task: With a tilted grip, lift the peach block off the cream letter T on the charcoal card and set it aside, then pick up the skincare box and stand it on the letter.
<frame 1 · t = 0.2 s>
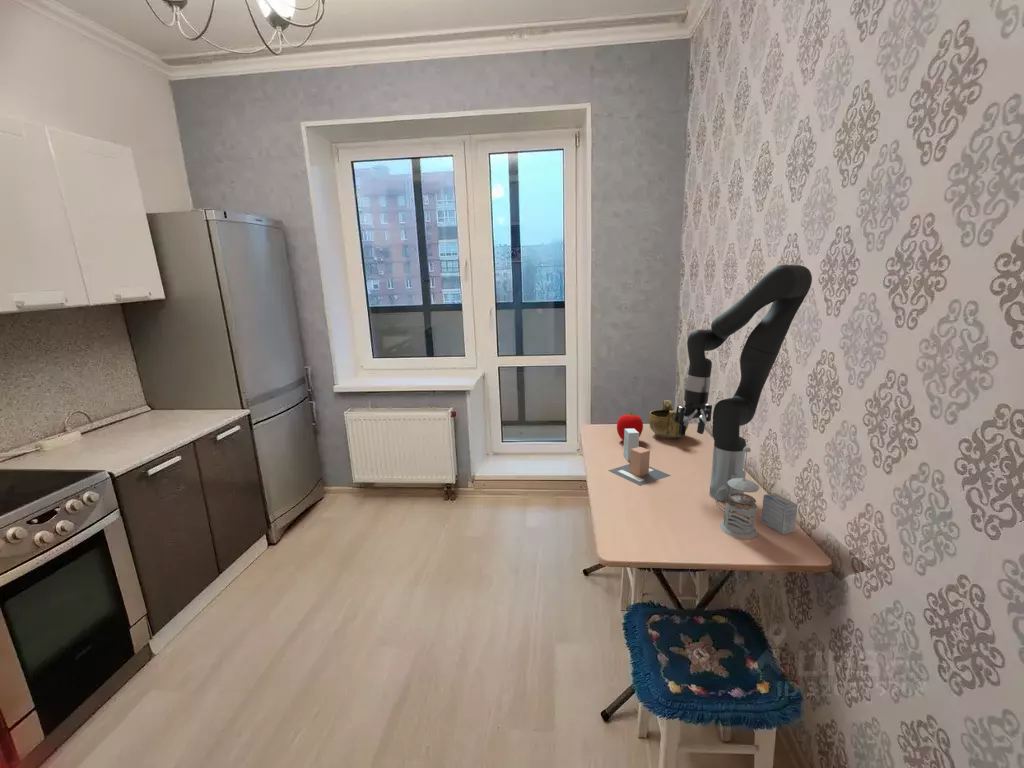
hand: (691, 434, 161), 18 cm above the table, tool pointing down, fingers open, 8 cm apart
ceramic bowl: (667, 437, 212), on the table
french press: (734, 529, 134), on the table
medicine box: (776, 527, 135), on the table
peach block: (639, 472, 172), resting on letter card
skincare box: (630, 459, 186), on the table
red apple: (629, 442, 206), on the table
letter card: (638, 474, 172), on the table
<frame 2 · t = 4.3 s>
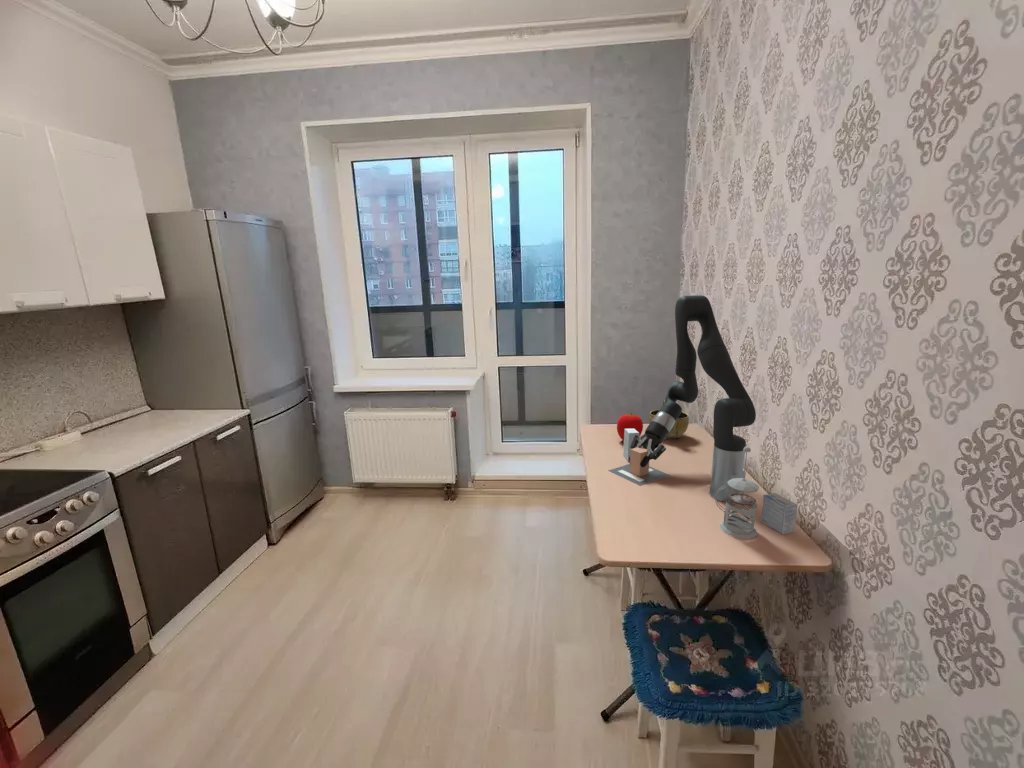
hand: (636, 463, 170), 5 cm above the table, tool tilted 45°, fingers closed on peach block, 4 cm apart
peach block: (638, 472, 172), resting on letter card, touching gripper
everything else where it was.
when the fingers open (6 cm above the table, at t = 10.0 s): peach block drops 2 cm, on the table.
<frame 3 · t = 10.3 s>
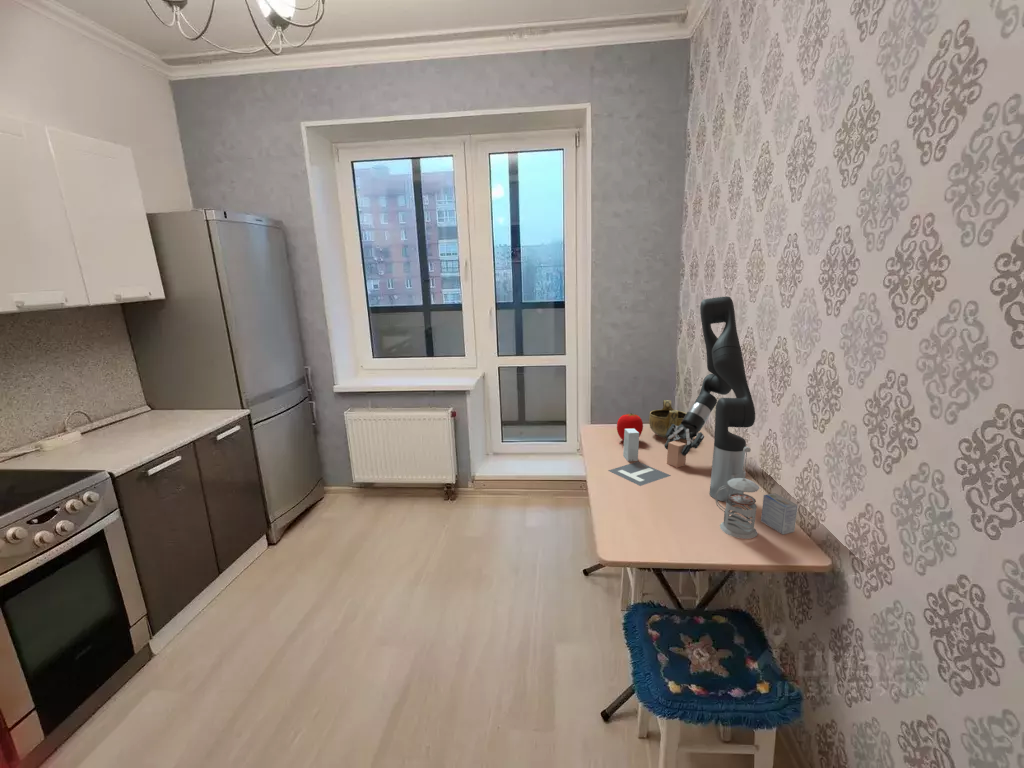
hand: (674, 451, 177), 6 cm above the table, tool tilted 45°, fingers open, 7 cm apart
peach block: (675, 465, 179), on the table
everything else where it was.
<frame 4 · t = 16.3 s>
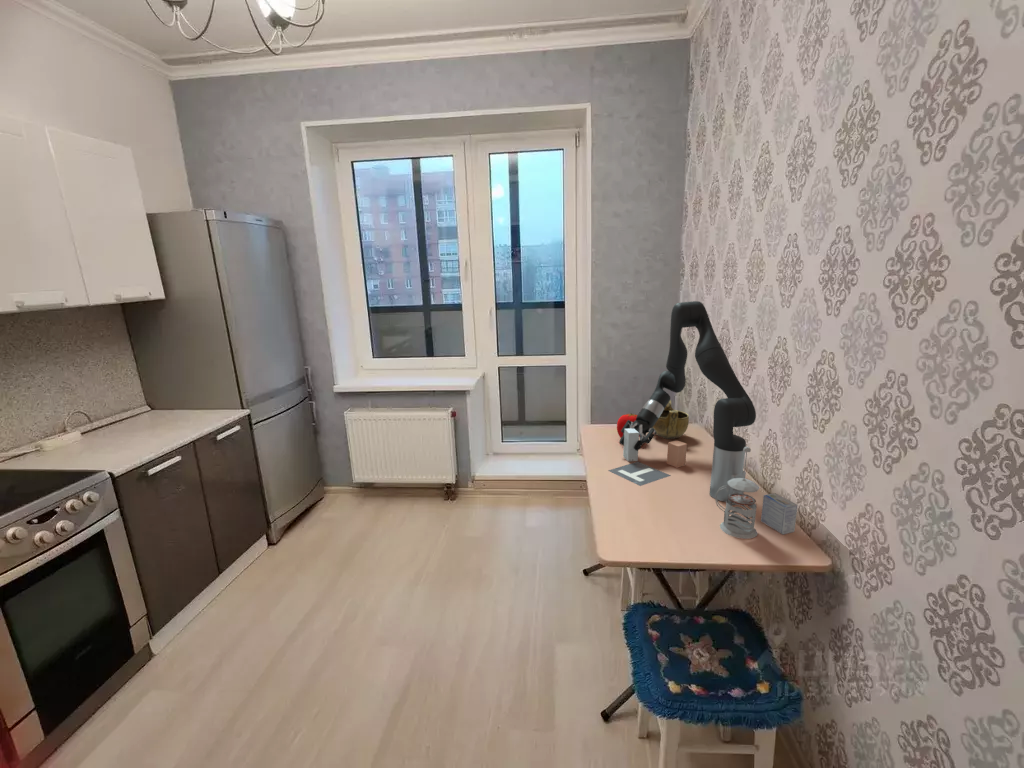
hand: (628, 446, 184), 6 cm above the table, tool tilted 45°, fingers closed on skincare box, 7 cm apart
skincare box: (630, 459, 186), on the table, touching gripper
everything else where it was.
when the fingers open (7 cm above the table, at t = 22.0 s): skincare box drops 1 cm, resting on letter card.
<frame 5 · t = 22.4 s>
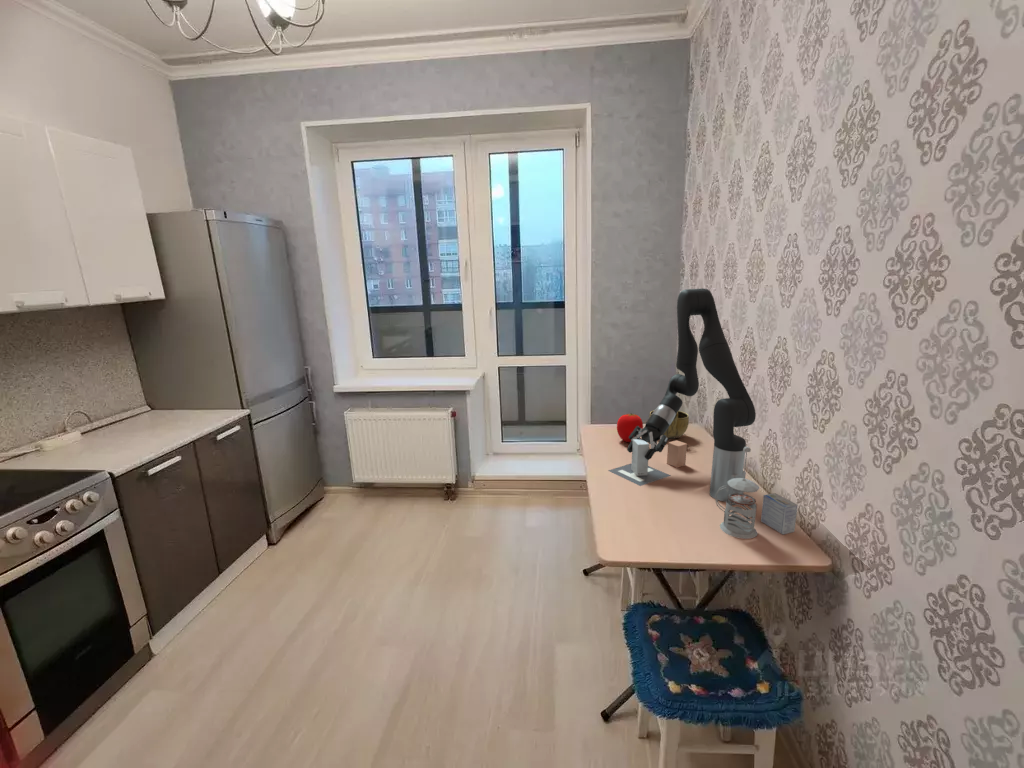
hand: (637, 454, 169), 8 cm above the table, tool tilted 45°, fingers open, 8 cm apart
skincare box: (639, 473, 172), resting on letter card
everything else where it was.
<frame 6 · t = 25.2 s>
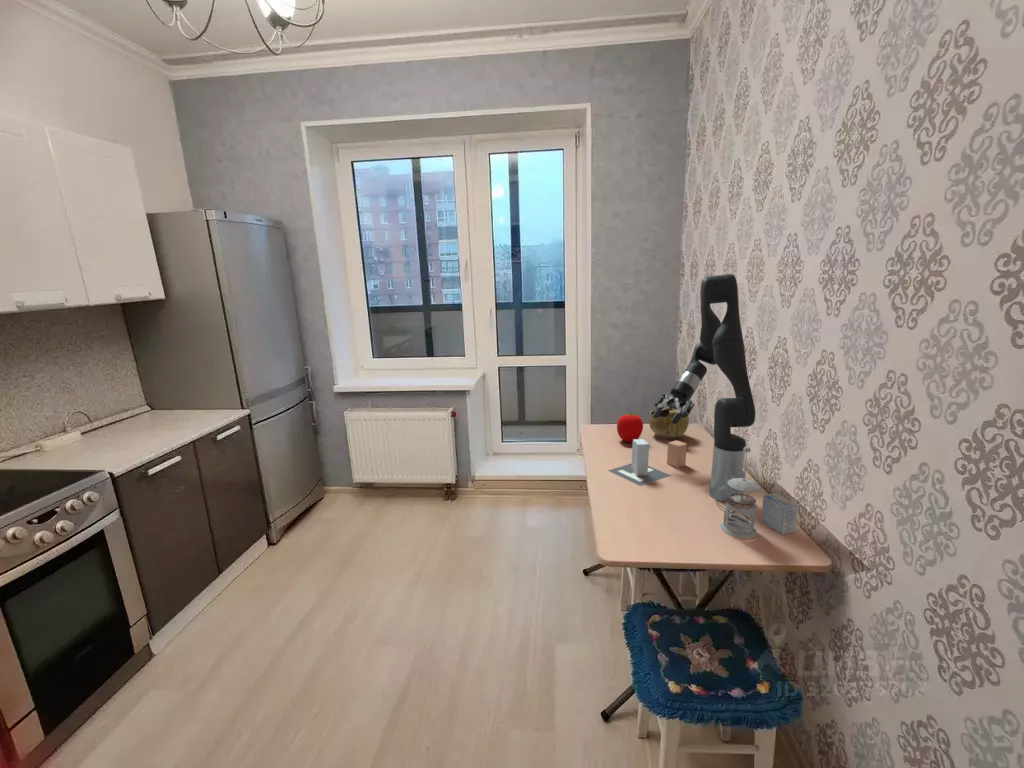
hand: (663, 420, 174), 19 cm above the table, tool tilted 45°, fingers open, 8 cm apart
nothing on the table moved.
at the end: skincare box inside the target area on the letter card (0.4 cm from its centre), point 0.3 cm above the letter card's base; skincare box tilted 0°; peach block touching table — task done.
